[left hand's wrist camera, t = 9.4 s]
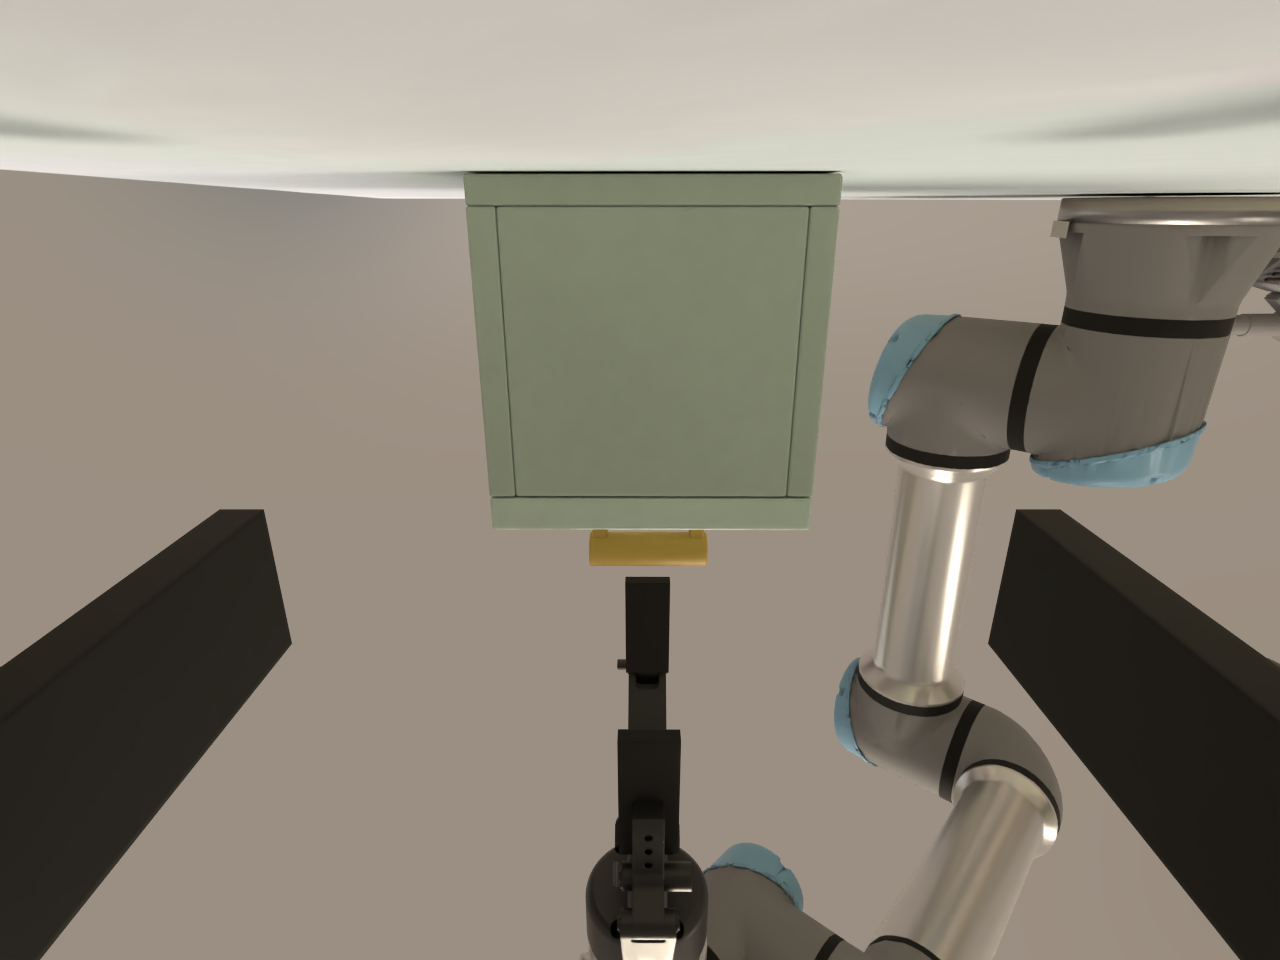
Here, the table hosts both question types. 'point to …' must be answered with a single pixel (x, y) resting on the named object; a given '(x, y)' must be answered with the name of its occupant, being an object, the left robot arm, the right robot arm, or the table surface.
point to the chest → (651, 330)
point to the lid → (650, 522)
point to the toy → (1275, 279)
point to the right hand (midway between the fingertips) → (648, 643)
